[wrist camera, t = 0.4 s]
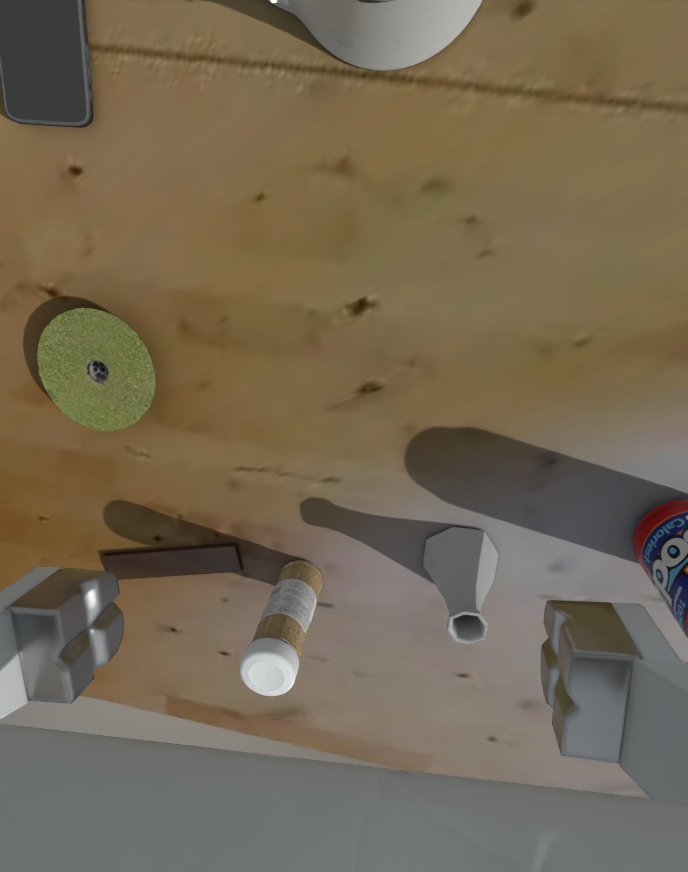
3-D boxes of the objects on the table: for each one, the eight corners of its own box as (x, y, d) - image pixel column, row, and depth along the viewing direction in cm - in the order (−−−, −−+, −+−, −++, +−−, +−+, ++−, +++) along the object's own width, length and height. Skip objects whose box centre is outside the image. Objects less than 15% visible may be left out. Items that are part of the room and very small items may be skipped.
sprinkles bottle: (299, 602, 57) (264, 706, 44) (271, 571, 56) (226, 669, 44) (333, 582, 55) (305, 684, 43) (304, 550, 55) (268, 644, 42)
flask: (430, 594, 54) (431, 668, 45) (415, 531, 52) (412, 596, 43) (504, 584, 53) (521, 660, 43) (492, 519, 50) (507, 584, 41)
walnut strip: (104, 553, 58) (101, 556, 58) (236, 543, 55) (234, 546, 55) (113, 577, 59) (110, 580, 59) (243, 568, 56) (241, 571, 56)
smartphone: (71, -122, 37) (91, 127, 42) (79, -114, 38) (98, 129, 43) (-28, -122, 38) (3, 122, 43) (-18, -114, 39) (12, 124, 44)
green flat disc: (73, 431, 53) (61, 438, 52) (32, 316, 50) (17, 319, 48) (179, 416, 51) (170, 423, 50) (143, 295, 48) (132, 298, 46)
